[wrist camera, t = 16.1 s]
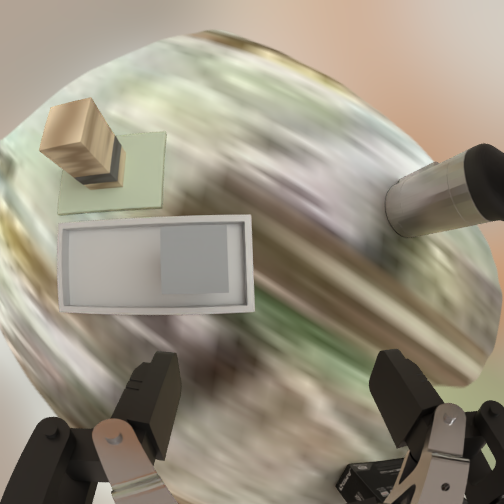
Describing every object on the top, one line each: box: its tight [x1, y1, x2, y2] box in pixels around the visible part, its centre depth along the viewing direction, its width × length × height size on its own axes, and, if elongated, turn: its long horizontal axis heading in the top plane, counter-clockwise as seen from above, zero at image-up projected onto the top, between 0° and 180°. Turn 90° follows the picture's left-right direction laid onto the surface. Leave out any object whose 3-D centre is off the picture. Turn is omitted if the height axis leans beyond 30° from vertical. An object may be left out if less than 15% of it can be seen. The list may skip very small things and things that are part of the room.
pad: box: [57, 131, 167, 215], centre depth 33 cm, size 16×11×1 cm
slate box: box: [160, 225, 229, 294], centre depth 27 cm, size 5×5×14 cm
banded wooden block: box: [39, 98, 126, 190], centre depth 26 cm, size 5×5×14 cm
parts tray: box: [57, 215, 255, 315], centre depth 32 cm, size 26×12×3 cm, turn 92°
